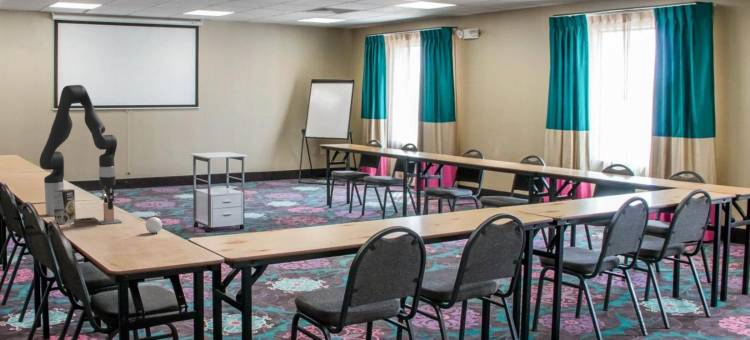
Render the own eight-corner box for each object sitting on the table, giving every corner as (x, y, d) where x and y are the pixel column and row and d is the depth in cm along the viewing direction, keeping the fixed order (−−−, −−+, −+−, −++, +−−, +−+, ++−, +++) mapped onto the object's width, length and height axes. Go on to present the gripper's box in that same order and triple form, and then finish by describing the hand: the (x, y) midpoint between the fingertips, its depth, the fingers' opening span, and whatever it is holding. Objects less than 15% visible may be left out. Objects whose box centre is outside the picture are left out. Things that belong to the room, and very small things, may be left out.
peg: (104, 221, 395) (103, 203, 394) (112, 220, 397) (111, 202, 396) (105, 222, 392) (105, 204, 391) (114, 221, 394) (113, 203, 393)
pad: (96, 221, 396) (96, 220, 396) (117, 220, 401) (117, 218, 401) (101, 224, 387) (100, 223, 387) (122, 222, 393) (121, 221, 392)
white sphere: (165, 232, 365) (165, 217, 364) (151, 235, 359) (150, 219, 359) (153, 230, 372) (153, 214, 371) (139, 232, 366) (139, 216, 365)
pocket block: (73, 224, 390) (73, 219, 390) (94, 222, 395) (93, 217, 395) (77, 226, 382) (77, 221, 382) (98, 225, 387) (98, 219, 387)
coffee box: (66, 224, 390) (64, 191, 389) (54, 223, 392) (52, 191, 390) (76, 221, 399) (75, 189, 397) (64, 220, 400) (63, 188, 399)
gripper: (96, 174, 396) (97, 206, 398) (102, 177, 384) (103, 210, 386) (111, 173, 400) (113, 205, 402) (118, 176, 388) (119, 209, 389)
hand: (108, 208), depth 394 cm, fingers open, 8 cm apart
